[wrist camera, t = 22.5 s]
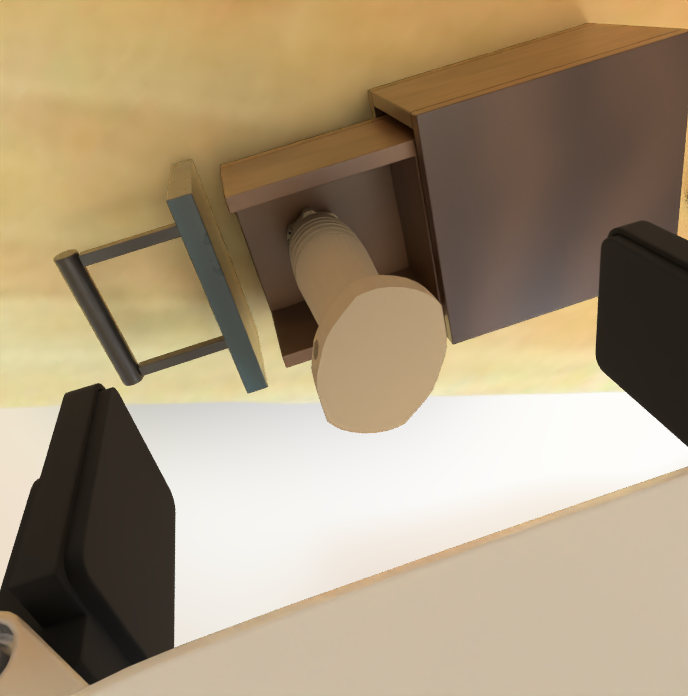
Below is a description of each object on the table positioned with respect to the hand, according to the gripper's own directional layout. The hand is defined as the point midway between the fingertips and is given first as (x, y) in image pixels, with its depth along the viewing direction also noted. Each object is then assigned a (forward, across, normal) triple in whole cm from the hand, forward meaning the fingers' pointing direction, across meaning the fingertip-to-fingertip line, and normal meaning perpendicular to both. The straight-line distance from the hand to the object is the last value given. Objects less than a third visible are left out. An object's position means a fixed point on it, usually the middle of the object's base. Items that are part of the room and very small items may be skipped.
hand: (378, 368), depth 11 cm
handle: (+24, -2, +6) cm, 25 cm away
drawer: (+25, +2, +7) cm, 26 cm away
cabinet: (+26, -14, +6) cm, 30 cm away
